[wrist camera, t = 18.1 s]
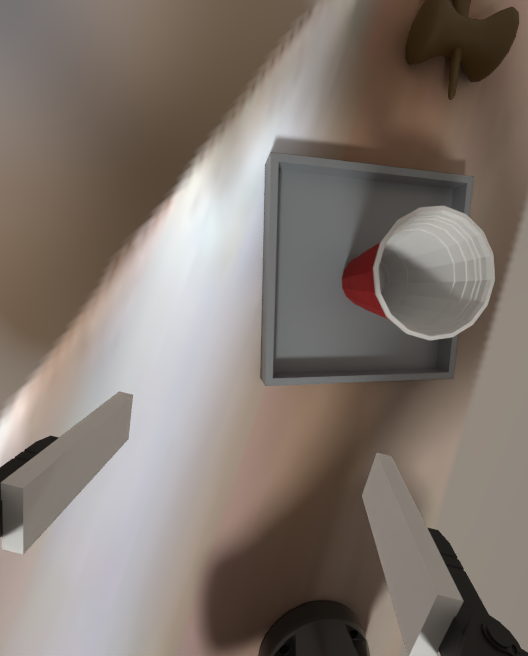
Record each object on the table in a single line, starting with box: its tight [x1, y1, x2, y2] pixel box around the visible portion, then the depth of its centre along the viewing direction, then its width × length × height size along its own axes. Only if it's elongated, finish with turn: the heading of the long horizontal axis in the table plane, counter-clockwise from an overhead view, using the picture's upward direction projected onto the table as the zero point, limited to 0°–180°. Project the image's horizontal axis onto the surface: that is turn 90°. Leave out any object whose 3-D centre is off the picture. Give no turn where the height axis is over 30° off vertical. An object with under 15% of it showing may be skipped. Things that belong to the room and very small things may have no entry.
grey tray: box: [260, 152, 474, 386], centre depth 35 cm, size 24×24×3 cm
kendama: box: [406, 0, 519, 100], centre depth 32 cm, size 6×10×20 cm
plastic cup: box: [342, 206, 495, 341], centre depth 29 cm, size 11×11×12 cm
